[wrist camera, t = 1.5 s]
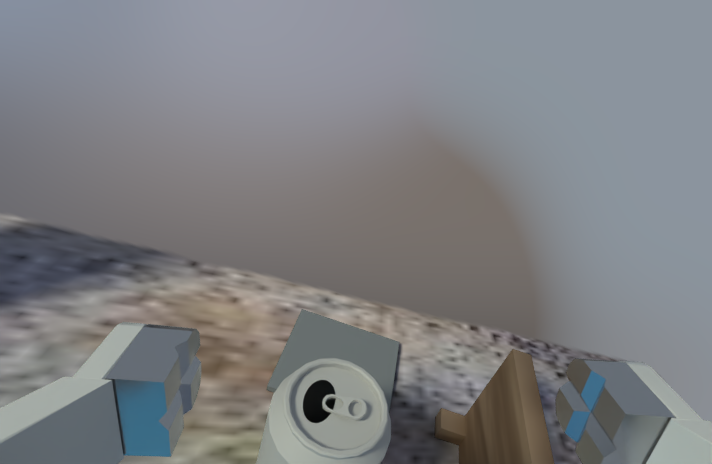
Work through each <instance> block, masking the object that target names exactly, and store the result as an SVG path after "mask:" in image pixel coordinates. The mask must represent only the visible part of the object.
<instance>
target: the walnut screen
mask: <svg viewBox="0 0 712 464" xmlns="http://www.w3.org/2000/svg"><path fill="white" fill-rule="evenodd" d="M435 437H436V438H439V439H442V440H444V441H447V442H450V443H453V444H456V445H459V464H554V460H553V455H552V451H551V446H550V441H549V437H548V432H547V427H546V422H545V418H544V413H543V408H542V404H541V399H540V394H539V390H538V385H537V380H536V376H535V371H534V366H533V361H532V357H531V355H529V354H526V353H523V352H520V351H517V350H514V349H512V351H511V352H510V354H509V355H508V356H507V358H506V359H505V361H504V362H503V363H502V365H501V366H500V368H499V369H498V370H497V372H496V373H495V375H494V376H493V377H492V379H491V380H490V382H489V383H488V384H487V386H486V387H485V389H484V390H483V391H482V393H481V394H480V396H479V397H478V399H477V400H476V401H475V403H474V404H473V406H472V407H471V408H470V410H469V411H468V413H467V414H466V415H465V416H463V415H460V414H457V413H454V412H451V411H448V410H445V409H442V408H441V409H440V411H439V412H438V414H437V416H436V417H435Z"/></svg>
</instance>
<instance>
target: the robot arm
mask: <svg viewBox="0 0 712 464" xmlns="http://www.w3.org/2000/svg"><path fill="white" fill-rule="evenodd" d="M199 347H200V337H199V332H198V330H197V329H192V328H182V327H172V326H162V325H152V324H148V325H147V324H139V323H128V322H123V323H120V324H118V325H117V326H116V327H115V328H114V329H113V330H112V331H111V333H110V334H109V335H108V336H107V337H106V338H105V340H104V341H103V342H102V343H101V344H100V345H99V347H98V348H97V349H96V350H95V351H94V353H93V354H92V355H91V356H90V357H89V358H88V360H87V361H86V362H85V363H84V364H83V365H82V367H81V368H80V369H79V370H78V371H77V373H76V374H75V375H74V376H73V377H63V378H61V379H59V380H57V381H54V382H52V383H50V384H48V385H46V386H44V387H42V388H40V389H38V390H36V391H34V392H32V393H30V394H28V395H26V396H24V397H22V398H20V399H18V400H16V401H14V402H12V403H10V404H8V405H6V406H4V407H1V408H0V464H118V463H119V462H120V461H121V460H122V459H123V458H124V455H127V456H162V457H171V455H172V453H173V451H174V448H175V446H176V444H177V442H178V439H179V437H180V435H181V433H182V430H183V428H184V420H183V415H184V414H185V413H187V412H188V411H189V410H191V409H192V407H193V405H194V402H195V400H196V397H197V394H198V390H199V386H200V379H201V362H200V361H199V359H198V358H197V357H196V356H195V355H196V353H197V351H198V349H199ZM566 374H567V376H568V379H569V381H568V382H567V383H566V384H564V385H563V386H562V387H560V388H559V391H558V394H557V397H556V415H557V418H558V421H559V424H560V425H561V427H562V429H563V431H564V433H565V434H567V435H568V436H569V437H570V438H572V439H573V440H574V441H576V442H577V444H576V450H575V452H576V453H577V455H578V457H579V459H580V460H581V462H582V464H712V422H711V421H704V420H702V419H701V418H700V416H699V415H697V413H696V412H695V411H694V410H693V409H692V408H691V407H690V406H689V405H688V404H687V403H686V402H685V401H684V400H683V399H682V398H681V397H680V396H679V395H678V394H677V393H676V392H675V391H674V390H673V389H672V388H671V387H670V386H669V385H668V384H667V383H666V382H665V381H664V380H663V379H662V378H661V377H660V376H659V375H658V374H657V373H656V372H655V371H654V370H653V369H652V368H651V367H650V366H649V365H647V364H645V363H643V362H630V361H619V362H616V361H603V360H589V359H574V360H573V361H572V362H571V363H570V364H569V366H568V369H567V371H566Z"/></svg>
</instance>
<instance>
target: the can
mask: <svg viewBox="0 0 712 464" xmlns="http://www.w3.org/2000/svg"><path fill="white" fill-rule="evenodd" d="M390 440H391V419H390V416H389V412H388V404H387V401H386V398H385V395H384V392H383V390H382V389H381V387H380V386H379V384H378V383H377V381H376V380H375V378H374V377H372V376H371V375H370V374H369V373H368V372H367V371H366V370H365V369H363V368H361V367H360V366H358V365H356V364H354V363H352V362H350V361H346V360H341V359H337V358H322V359H317V360H314V361H311V362H308V363H306V364H305V365H303V366H302V367H301V368H299V369H298V370H296V371H295V372H293V373H292V374H291V375H289V376H288V377H287V378H285V379H284V380H283V381H282V383H281V384H280V385H279V387H278V388H277V390H276V391H275V393H274V394H273V397H272V401H271V405H270V408H269V412H268V416H267V420H266V424H265V429H264V433H263V437H262V441H261V445H260V450H259V454H258V458H257V462H256V464H381V462H382V460H383V459H384V457H385V454H386V451H387V449H388V446H389V443H390Z"/></svg>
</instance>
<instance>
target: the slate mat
mask: <svg viewBox="0 0 712 464" xmlns="http://www.w3.org/2000/svg"><path fill="white" fill-rule="evenodd" d="M398 348H399V342H398V341H395V340H392V339H389V338H386V337H383V336H380V335H377V334H374V333H371V332H368V331H365V330H362V329H359V328H356V327H353V326H350V325H347V324H344V323H341V322H338V321H336V320H333V319H330V318H327V317H324V316H321V315H318V314H315V313H312V312H309V311H306V310H303V309H302V310H301V313H300V315H299V317H298V319H297V321H296V324H295V326H294V328H293V330H292V332H291V335H290V337H289V339H288V341H287V343H286V346H285V348H284V350H283V352H282V355H281V357H280V359H279V361H278V363H277V366H276V368H275V370H274V372H273V374H272V377H271V379H270V381H269V383H268V386H267V390H268V391H271V392H274V393H275V391H276V390H277V388H278V387H279V385H280V384H281V383H282V381H283V380H284V379H285V378H287V377H288V376H289V375H291V374H292V373H293V372H295V371H296V370H298V369H299V368H301V367H302V366H303V365H305V364H306V363H308V362H311V361H314V360H317V359H322V358H337V359H341V360H346V361H350V362H352V363H354V364H356V365H358V366H360V367H361V368H363V369H365V370H366V371H367V372H368V373H369V374H370V375H371V376H372V377H374V378H375V380H376V381H377V383H378V384H379V386H380V387H381V389H382V390H383V392H384V395H385V398H386V401H387V404H388V412H389V411H390V404H391V397H392V390H393V383H394V376H395V369H396V362H397V355H398Z"/></svg>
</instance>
